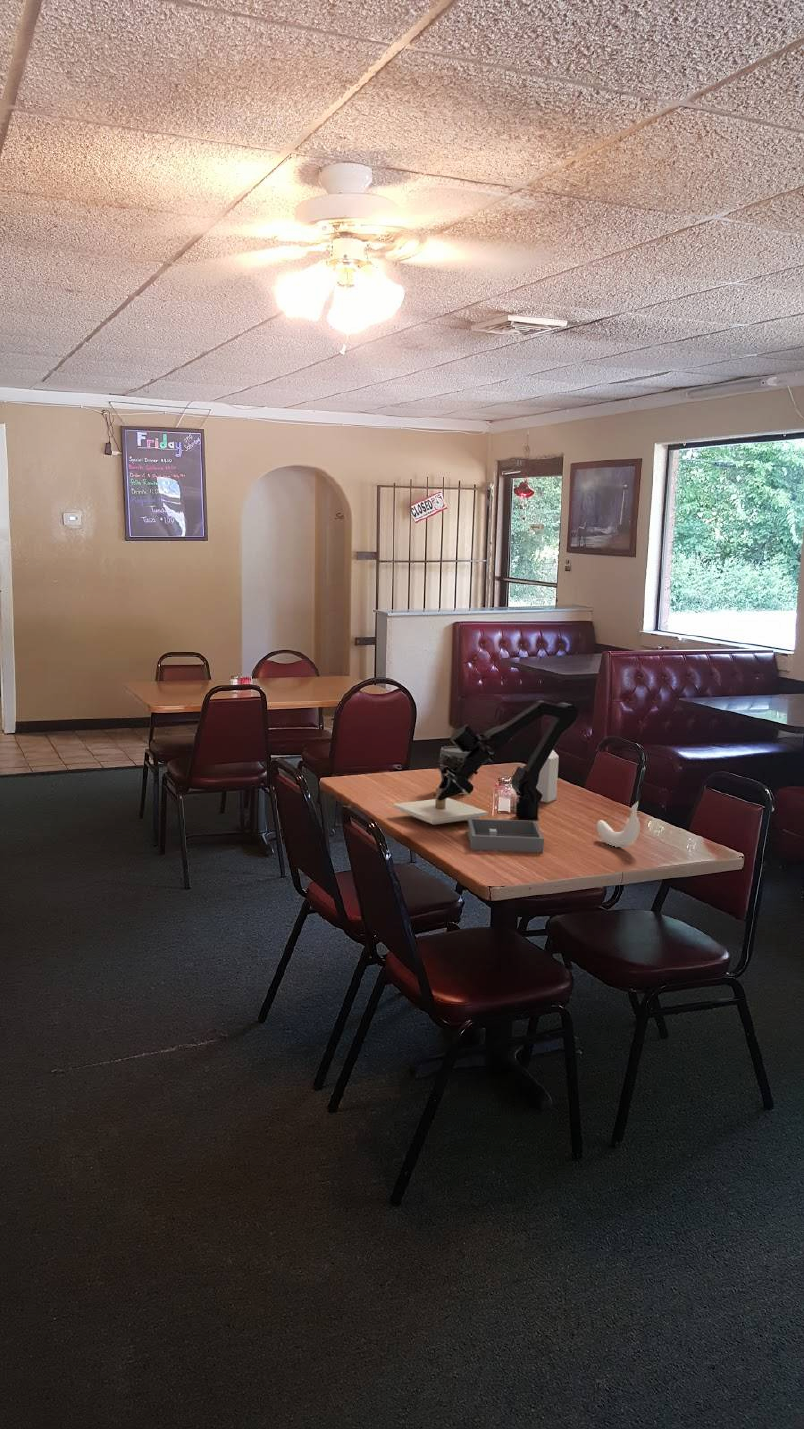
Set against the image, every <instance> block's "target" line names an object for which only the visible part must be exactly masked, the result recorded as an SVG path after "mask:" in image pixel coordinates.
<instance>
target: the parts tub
mask: <svg viewBox="0 0 804 1429" xmlns="http://www.w3.org/2000/svg"><path fill="white" fill-rule="evenodd" d="M467 835H468V840H470V841H469V845H470V849H471V850H472V851H490V850H500V851H499V852H515V851H518V853H519V851H520V853H521V852H522V853H540V852H543V853H544V843H545V842H544V841H545V838H544V836H543V834H542V831H541V830H540V828H539V825H538V823H537V820H526V819H497V818H477V819H475V818H468V820H467Z"/></svg>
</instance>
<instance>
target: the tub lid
mask: <svg viewBox="0 0 804 1429" xmlns="http://www.w3.org/2000/svg"><path fill="white" fill-rule="evenodd" d="M443 790H444V788H438V787H436V788H435V792H436V797H434V798H433V799H426V800H418V801H417V800H416V801H409V802H401V803H394V804H392V808H393V809H396V810H399V811H400V812H401V813H403V814H406V815H408V816H410V817H413V818H416V819H418V820H421V821H423V822H426V823H429V824H431V825H440V824H446V823H448V824H449V823H454V822H461V821H463V822H464V821H468V818H475V819H480V817H484V816H485V817H486V816H489V811H487V810H484V809H482V808H478V807H475V806H472V805H471V804H467V803H464V802H462V801H459V800H456V799H452V798H450V797H449V798H446V799H443V800H441V801H439V800H438V799H437V798H438V796H439V795H440V794H441V792H442V791H443Z"/></svg>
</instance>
